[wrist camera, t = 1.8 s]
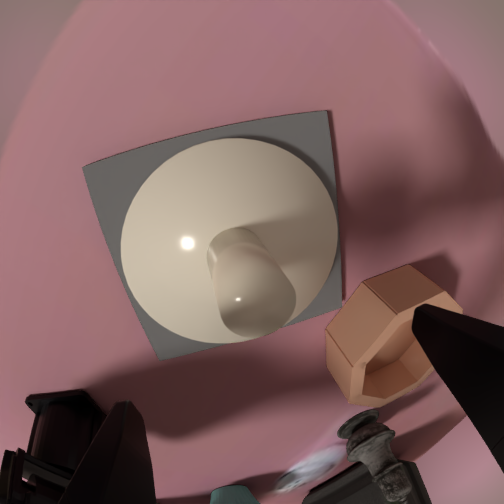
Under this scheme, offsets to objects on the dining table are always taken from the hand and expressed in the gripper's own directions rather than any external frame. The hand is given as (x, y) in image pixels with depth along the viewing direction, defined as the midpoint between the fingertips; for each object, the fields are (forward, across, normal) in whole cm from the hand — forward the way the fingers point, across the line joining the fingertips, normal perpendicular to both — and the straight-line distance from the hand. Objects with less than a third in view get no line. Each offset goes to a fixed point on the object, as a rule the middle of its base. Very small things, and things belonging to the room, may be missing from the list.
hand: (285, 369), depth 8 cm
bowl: (+9, -10, +10) cm, 17 cm away
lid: (+8, 0, 0) cm, 8 cm away
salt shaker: (+9, -9, +25) cm, 28 cm away
